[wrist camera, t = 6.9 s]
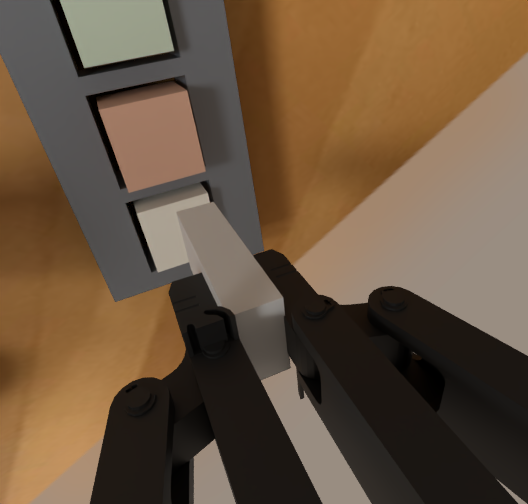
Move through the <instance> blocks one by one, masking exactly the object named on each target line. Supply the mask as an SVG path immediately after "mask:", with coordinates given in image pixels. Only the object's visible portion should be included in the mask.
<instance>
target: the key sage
mask: <svg viewBox="0 0 528 504" xmlns="http://www.w3.org/2000/svg"><path fill="white" fill-rule="evenodd" d="M60 2H61V5H62V8H63V11H64V13H65V16H66V19H67V22H68V24H69V27H70V30H71V33H72V36H73V38H74V41H75V44H76V47H77V49H78V52H79V55H80V58H81V61H82V63H83V66H84V68H87V67H92V66H98V65H103V64H108V63H113V62H118V61H124V60H129V59H134V58H139V57H144V56H150V55H155V54H160V53H165V52H170V51H174V48H173V44H172V40H171V36H170V31H169V27H168V23H167V19H166V14H165V10H164V6H163V2H162V0H60Z"/></svg>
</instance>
